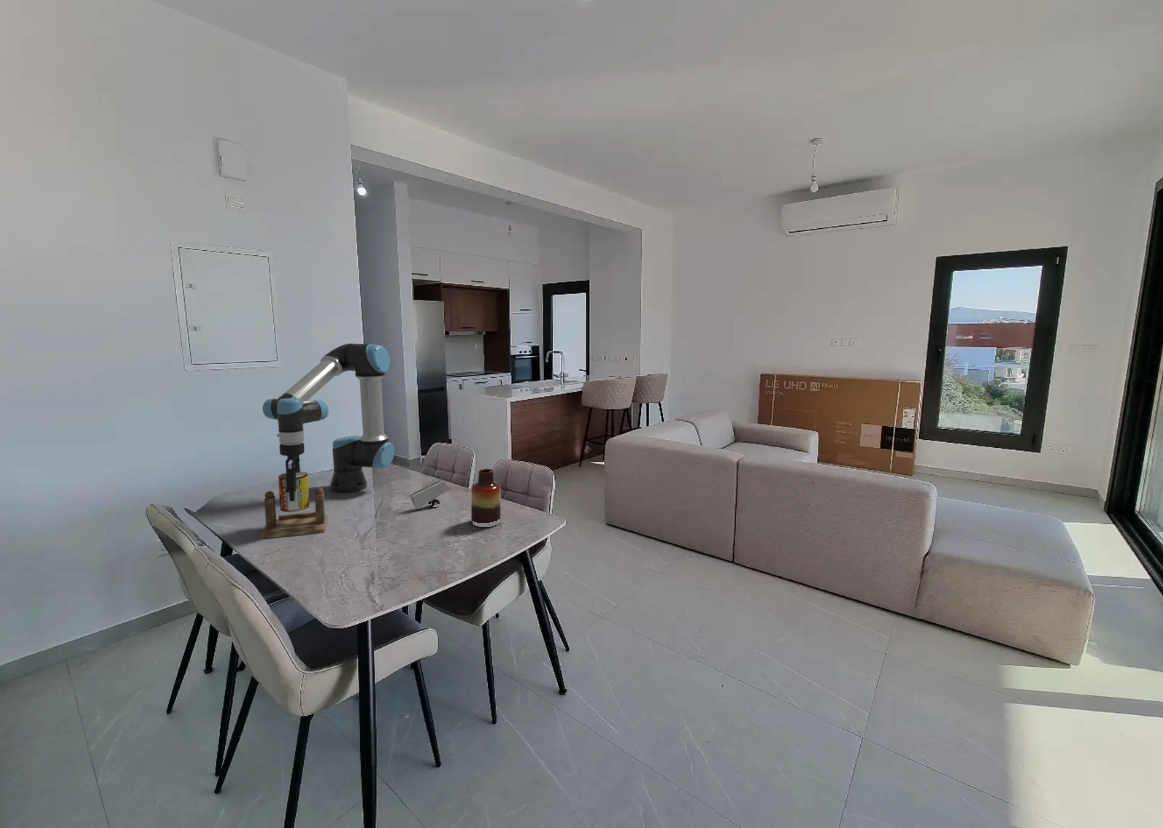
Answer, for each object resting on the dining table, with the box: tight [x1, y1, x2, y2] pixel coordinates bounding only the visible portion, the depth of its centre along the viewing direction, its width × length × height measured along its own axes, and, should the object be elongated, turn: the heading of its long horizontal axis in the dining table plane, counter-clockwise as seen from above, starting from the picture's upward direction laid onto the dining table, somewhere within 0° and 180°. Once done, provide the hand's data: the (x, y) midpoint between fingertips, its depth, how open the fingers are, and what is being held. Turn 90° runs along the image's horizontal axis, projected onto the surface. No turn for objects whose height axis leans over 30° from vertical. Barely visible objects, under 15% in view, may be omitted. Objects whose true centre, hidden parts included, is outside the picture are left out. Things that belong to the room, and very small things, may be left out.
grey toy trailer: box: [408, 479, 450, 510], centre depth 208 cm, size 4×10×15 cm
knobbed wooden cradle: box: [260, 487, 329, 540], centre depth 182 cm, size 19×15×14 cm
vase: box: [470, 468, 502, 523], centre depth 192 cm, size 11×11×20 cm
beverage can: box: [277, 471, 310, 513], centre depth 181 cm, size 9×9×12 cm
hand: (295, 505), depth 182 cm, fingers closed on beverage can, 9 cm apart
